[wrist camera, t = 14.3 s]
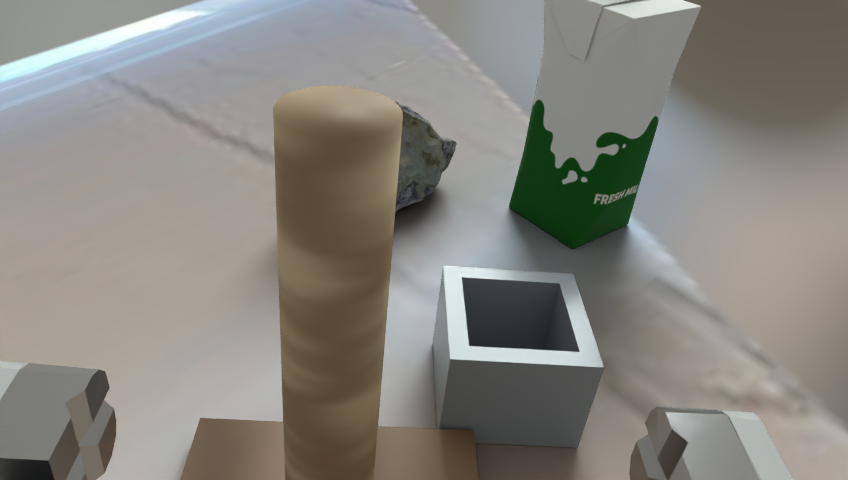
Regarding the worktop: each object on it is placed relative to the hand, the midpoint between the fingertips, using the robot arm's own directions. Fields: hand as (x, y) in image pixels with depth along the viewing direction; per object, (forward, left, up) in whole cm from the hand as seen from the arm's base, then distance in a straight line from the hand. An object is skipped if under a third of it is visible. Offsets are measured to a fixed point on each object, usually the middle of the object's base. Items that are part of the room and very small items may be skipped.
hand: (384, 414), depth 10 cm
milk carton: (+15, +41, -21) cm, 49 cm away
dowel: (-2, +11, -20) cm, 23 cm away
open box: (+7, +21, -21) cm, 31 cm away
